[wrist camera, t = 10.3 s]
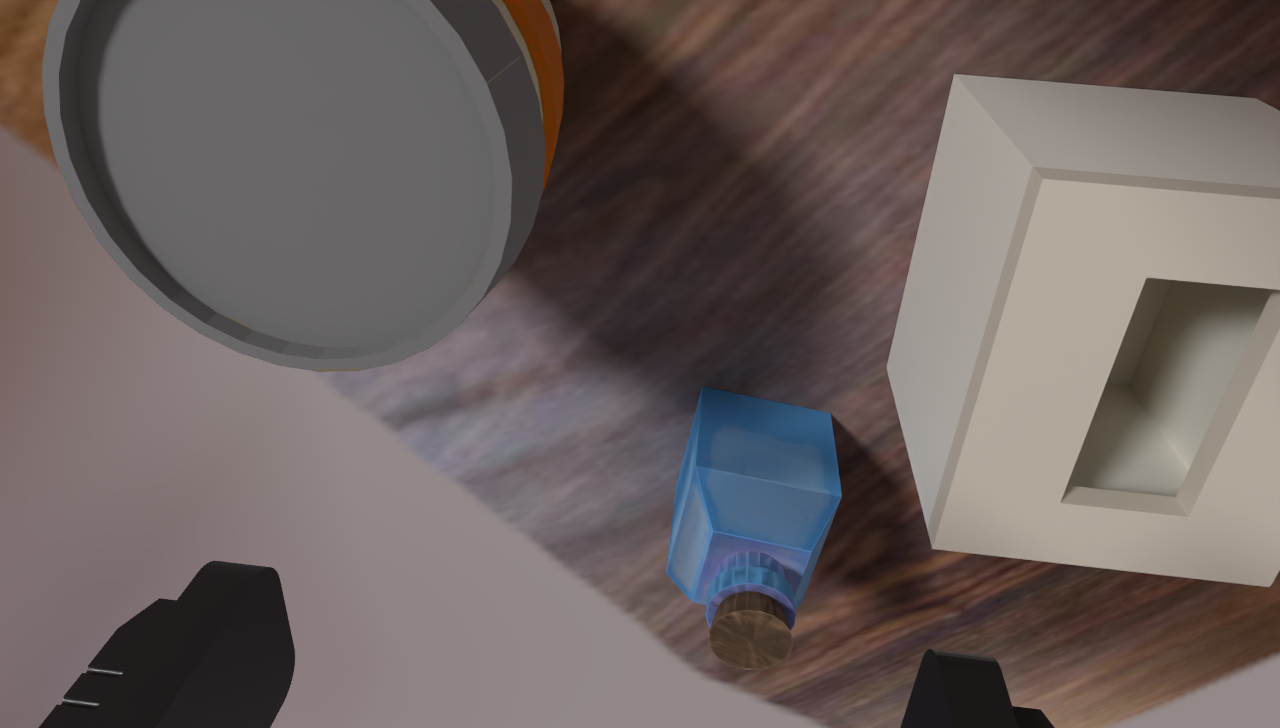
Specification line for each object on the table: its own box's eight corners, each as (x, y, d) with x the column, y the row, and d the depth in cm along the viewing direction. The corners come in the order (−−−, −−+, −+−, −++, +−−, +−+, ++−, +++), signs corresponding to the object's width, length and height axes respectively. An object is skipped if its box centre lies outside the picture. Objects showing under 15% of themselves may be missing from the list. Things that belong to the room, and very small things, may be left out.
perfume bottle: (830, 413, 42) (856, 599, 32) (795, 511, 45) (808, 710, 35) (701, 386, 42) (685, 564, 32) (676, 487, 45) (654, 677, 35)
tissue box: (954, 74, 34) (1042, 178, 24) (1255, 98, 33) (1482, 216, 23) (886, 367, 40) (932, 548, 30) (1135, 392, 40) (1270, 587, 29)
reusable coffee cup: (248, 83, 37) (-19, 216, 24) (376, -217, 31) (112, -252, 18) (507, 252, 40) (391, 452, 27) (671, 6, 34) (621, 112, 21)
